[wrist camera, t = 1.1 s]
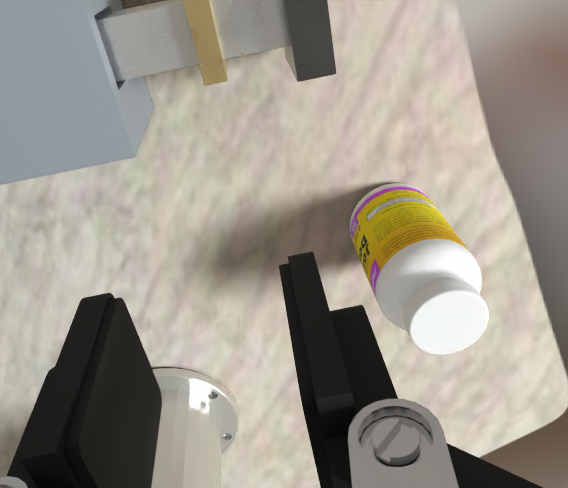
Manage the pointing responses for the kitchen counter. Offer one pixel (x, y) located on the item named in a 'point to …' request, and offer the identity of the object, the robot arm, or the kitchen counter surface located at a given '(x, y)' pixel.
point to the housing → (63, 91)
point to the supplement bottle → (419, 269)
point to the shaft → (216, 36)
